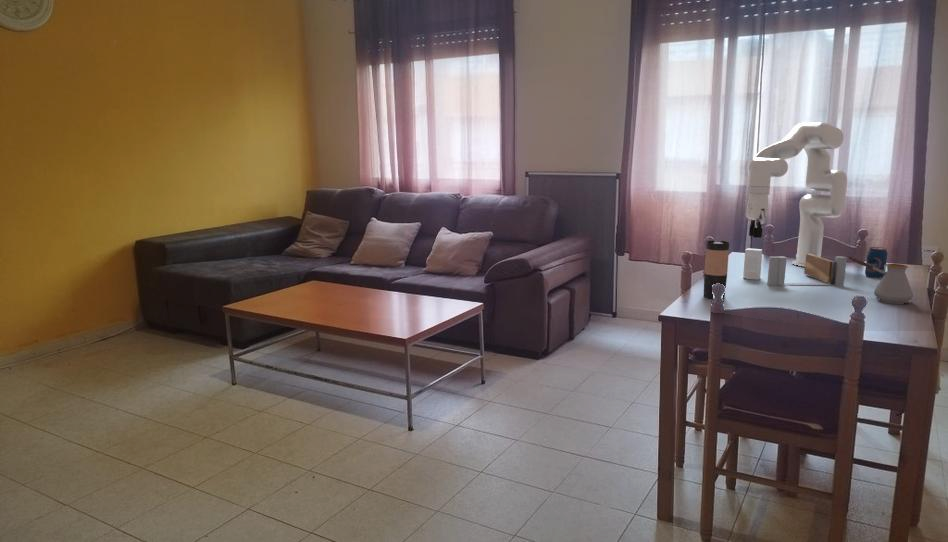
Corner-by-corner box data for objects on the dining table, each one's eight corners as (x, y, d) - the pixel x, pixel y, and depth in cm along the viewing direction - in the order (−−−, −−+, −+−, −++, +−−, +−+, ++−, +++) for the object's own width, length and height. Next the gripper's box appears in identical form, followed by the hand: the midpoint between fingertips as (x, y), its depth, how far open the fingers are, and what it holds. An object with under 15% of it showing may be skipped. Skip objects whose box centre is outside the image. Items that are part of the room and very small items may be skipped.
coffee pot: (907, 299, 228) (913, 257, 225) (915, 307, 217) (921, 263, 214) (839, 294, 236) (843, 253, 233) (843, 301, 225) (848, 259, 222)
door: (807, 273, 268) (810, 253, 266) (834, 284, 249) (837, 262, 248) (804, 274, 268) (806, 253, 266) (830, 284, 249) (833, 262, 248)
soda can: (861, 276, 265) (865, 248, 262) (868, 274, 269) (871, 246, 267) (880, 279, 259) (884, 250, 257) (886, 277, 264) (890, 248, 262)
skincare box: (760, 278, 263) (763, 249, 260) (758, 280, 259) (761, 250, 257) (744, 276, 266) (746, 247, 263) (742, 278, 262) (744, 249, 260)
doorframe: (766, 284, 252) (768, 256, 250) (839, 284, 252) (842, 256, 249) (769, 285, 249) (772, 257, 247) (843, 285, 249) (847, 257, 246)
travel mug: (714, 300, 227) (718, 244, 223) (698, 296, 233) (701, 241, 229) (730, 298, 230) (734, 242, 226) (713, 293, 237) (717, 239, 233)
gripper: (741, 189, 263) (737, 233, 267) (758, 192, 247) (754, 239, 251) (760, 189, 263) (756, 233, 267) (777, 192, 247) (773, 239, 251)
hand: (755, 236), depth 259 cm, fingers open, 3 cm apart
